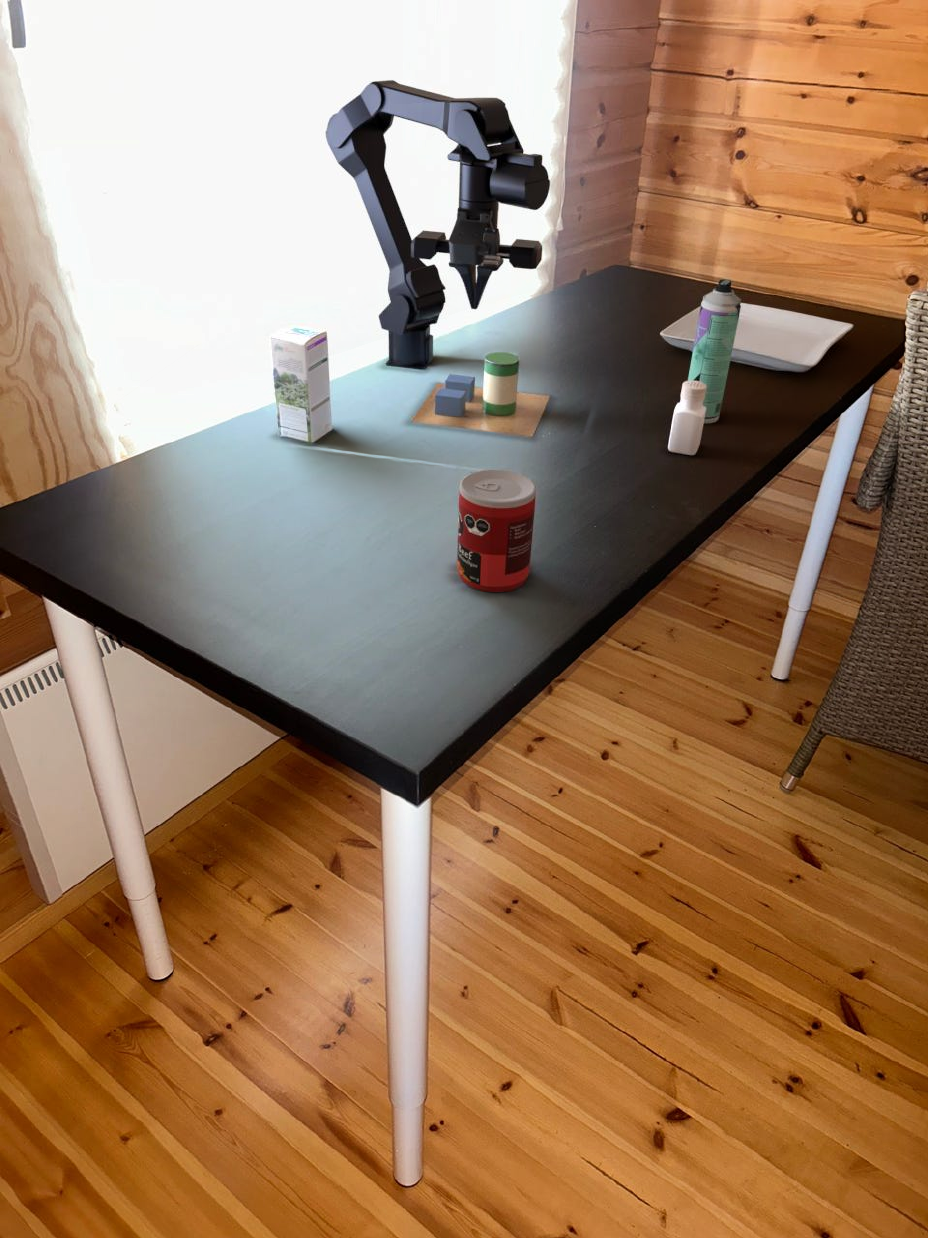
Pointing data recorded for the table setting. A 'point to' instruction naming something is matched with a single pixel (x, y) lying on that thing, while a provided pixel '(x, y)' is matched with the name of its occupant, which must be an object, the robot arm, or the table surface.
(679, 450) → the pepper shaker
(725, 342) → the spray can
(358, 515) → the table surface
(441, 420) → the cork mat
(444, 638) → the table surface
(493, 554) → the canned food
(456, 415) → the blue blocks
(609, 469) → the table surface
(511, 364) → the green tin
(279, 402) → the syrup box
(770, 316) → the square plate
